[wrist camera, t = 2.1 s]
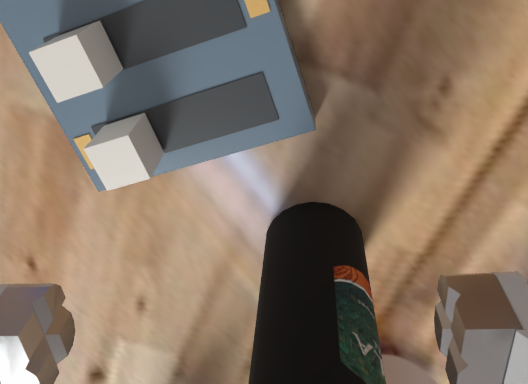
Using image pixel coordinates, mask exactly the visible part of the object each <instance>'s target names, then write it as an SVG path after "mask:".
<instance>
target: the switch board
mask: <svg viewBox="0 0 528 384" xmlns="http://www.w3.org/2000/svg"><path fill="white" fill-rule="evenodd" d="M97 21H100V22H101V24H102V26H103V28H104V30H105V32H106V34H107V36H108V38H109V40H110V42H111V44H112V46H113V48H114V50H115V53H116V55H117V57H118V59H119V61H120V63H121V65H122V67H123V69H122V70H121V71H120V72H119V73H118V74H117V75H116V76H115V77H114V78H113V79H112V80H111V81H110V82H109V83H108V84H107V85H105V86H104V87H103V88H100V89H97V90H94V91H91V92H88V93H86V94H83V95H80V96H77V97H74V98H71V99H68V100H65V101H62V102H59V103H57V102H56V100H55V98H54V97H53V95H52V93H51V91H50V89H49V88H48V86H47V84H46V82H45V81H44V79H43V77H42V75H41V74H40V72H39V70H38V68H37V67H36V65H35V63H34V61H33V60H32V58H31V56H30V54H29V53H28V52H30V51H32V50H34V49H35V48H37V47H39V46H41V45H43V44H44V43H46V42H48V41H50V40H51V39H53V38H55V37H57V36H59V35H62V34H65V33H67V32H70V31H73V30H76V29H78V28H81V27H84V26H86V25H89V24H92V23H94V22H97ZM0 22H1V24H2V26H3V28H4V29H5V31H6V33H7V34H8V36H9V38H10V40H11V41H12V43H13V45H14V47H15V48H16V50H17V52H18V53H19V55H20V57H21V59H22V60H23V62H24V64H25V66H26V67H27V69H28V71H29V72H30V74H31V76H32V78H33V79H34V81H35V83H36V85H37V86H38V88H39V90H40V91H41V93H42V95H43V97H44V98H45V100H46V102H47V104H48V105H49V107H50V109H51V110H52V112H53V114H54V116H55V117H56V119H57V121H58V123H59V124H60V126H61V128H62V129H63V131H64V133H65V135H66V136H67V138H68V140H69V142H70V143H71V145H72V147H73V148H74V150H75V152H76V154H77V155H78V157H79V159H80V161H81V162H82V164H83V166H84V167H85V169H86V171H87V173H88V174H89V176H90V178H91V180H92V181H93V183H94V185H95V186H96V188H97V190H98V192H99V191H103V190H106V188H105V186H104V184H103V183H102V181H101V179H100V177H99V176H98V174H97V172H96V170H95V169H94V167H93V165H92V163H91V162H90V160H89V158H88V156H87V155H86V153H85V151H84V148H85V147H86V145H87V144H88V143H89V142H90V141H91V140H92V139H93V137H94V136H95V135H96V134H97V133H98V132H99V131H100V129H101V128H102V127H103V126H104V125H108V124H111V123H114V122H117V121H120V120H123V119H126V118H130V117H133V116H136V115H139V114H142V113H145V114H146V116H147V118H148V121H149V123H150V125H151V127H152V129H153V131H154V133H155V135H156V137H157V139H158V141H159V143H160V145H161V147H162V149H163V151H164V155H163V156H162V158H161V160H160V162H159V164H158V166H157V167H156V169H155V171H154V173H153V175H152V176H155V175H159V174H162V173H166V172H170V171H173V170H177V169H180V168H184V167H187V166H191V165H194V164H198V163H201V162H205V161H208V160H212V159H215V158H219V157H222V156H226V155H229V154H233V153H236V152H240V151H243V150H247V149H250V148H254V147H257V146H261V145H264V144H268V143H271V142H275V141H278V140H282V139H285V138H289V137H292V136H296V135H299V134H303V133H307V132H310V131H314V130H316V129H315V116H314V113H313V110H312V106H311V103H310V100H309V97H308V94H307V91H306V87H305V84H304V81H303V78H302V75H301V71H300V68H299V65H298V62H297V59H296V55H295V52H294V49H293V46H292V43H291V40H290V36H289V33H288V30H287V27H286V24H285V20H284V17H283V14H282V11H281V8H280V5H279V1H278V0H0ZM152 176H151V177H152Z"/></svg>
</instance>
